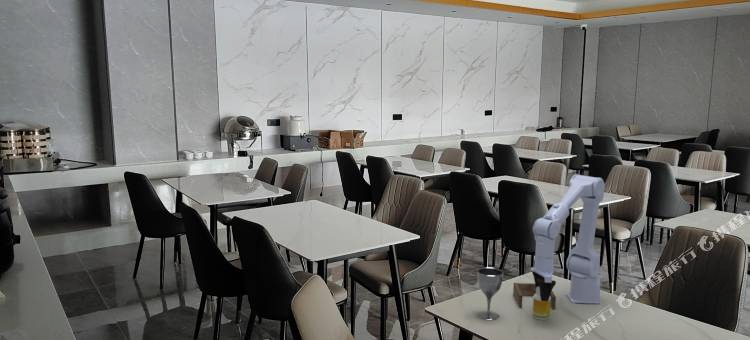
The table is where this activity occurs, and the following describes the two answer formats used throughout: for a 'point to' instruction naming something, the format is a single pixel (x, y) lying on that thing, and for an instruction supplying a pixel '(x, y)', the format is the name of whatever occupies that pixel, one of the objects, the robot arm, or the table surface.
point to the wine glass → (489, 288)
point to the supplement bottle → (540, 306)
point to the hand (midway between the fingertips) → (542, 296)
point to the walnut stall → (528, 293)
